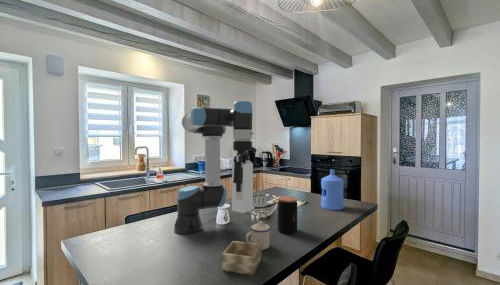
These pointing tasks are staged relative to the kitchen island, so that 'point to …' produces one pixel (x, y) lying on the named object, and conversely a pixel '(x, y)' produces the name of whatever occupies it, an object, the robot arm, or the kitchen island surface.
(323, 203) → the water jug
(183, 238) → the kitchen island surface
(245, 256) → the holder
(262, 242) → the teacup with lid
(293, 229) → the coffee jar
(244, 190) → the milk
